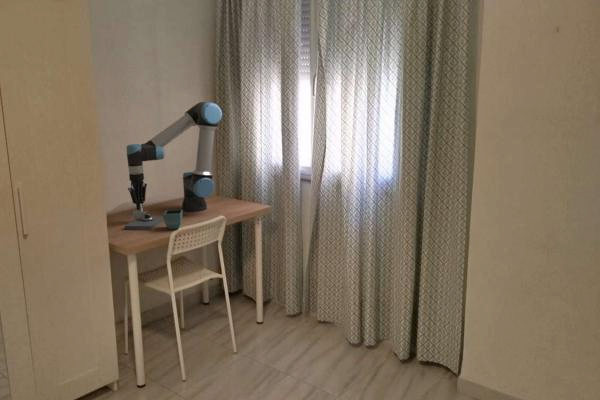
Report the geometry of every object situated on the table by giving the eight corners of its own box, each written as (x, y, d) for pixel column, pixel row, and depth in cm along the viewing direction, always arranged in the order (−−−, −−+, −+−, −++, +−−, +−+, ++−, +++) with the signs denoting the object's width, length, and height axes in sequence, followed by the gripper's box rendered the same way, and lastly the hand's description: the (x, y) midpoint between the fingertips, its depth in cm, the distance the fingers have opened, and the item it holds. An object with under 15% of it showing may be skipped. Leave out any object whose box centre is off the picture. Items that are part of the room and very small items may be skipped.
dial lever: (155, 218, 278) (154, 211, 277) (149, 221, 272) (148, 213, 271) (137, 217, 281) (136, 209, 280) (130, 219, 275) (130, 212, 274)
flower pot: (167, 226, 271) (166, 209, 269) (183, 225, 272) (182, 209, 270) (164, 230, 263) (163, 214, 261) (181, 230, 264) (180, 213, 262)
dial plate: (163, 219, 284) (163, 216, 283) (151, 229, 264) (150, 225, 264) (138, 219, 284) (138, 215, 284) (125, 229, 265) (124, 225, 264)
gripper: (138, 170, 280) (142, 211, 285) (122, 174, 268) (127, 217, 274) (149, 171, 277) (153, 212, 282) (133, 175, 265) (138, 218, 271)
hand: (140, 215), depth 278 cm, fingers closed
